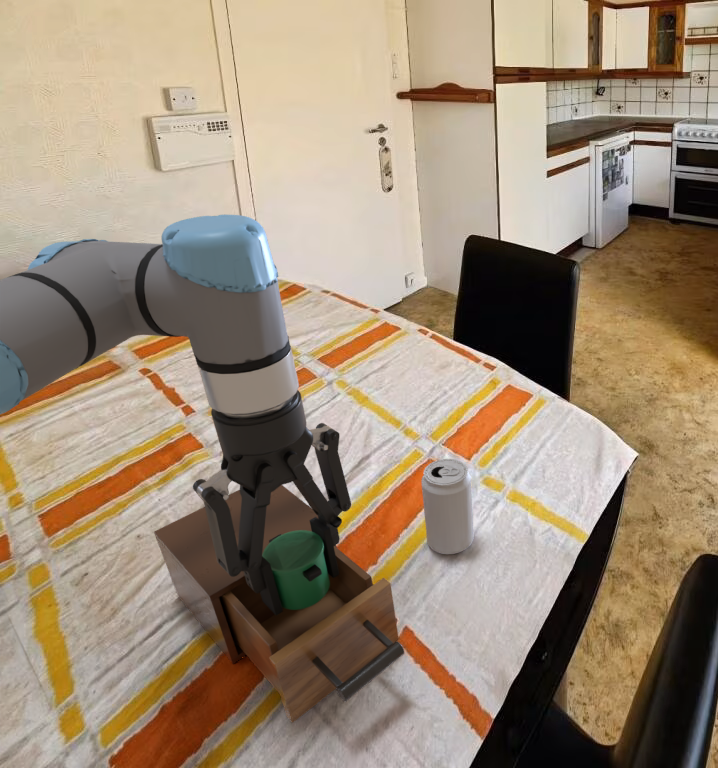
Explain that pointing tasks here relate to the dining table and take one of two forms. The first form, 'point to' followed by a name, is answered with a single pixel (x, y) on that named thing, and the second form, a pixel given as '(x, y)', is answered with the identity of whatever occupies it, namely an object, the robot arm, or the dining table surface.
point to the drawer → (319, 638)
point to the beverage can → (448, 506)
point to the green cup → (298, 568)
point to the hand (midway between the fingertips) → (302, 587)
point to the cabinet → (202, 571)
